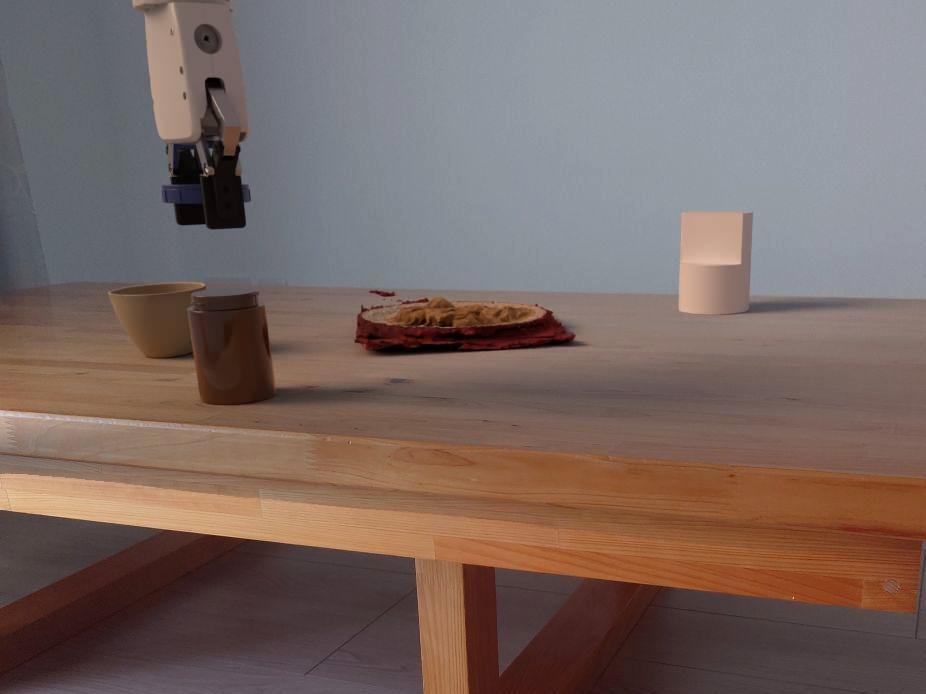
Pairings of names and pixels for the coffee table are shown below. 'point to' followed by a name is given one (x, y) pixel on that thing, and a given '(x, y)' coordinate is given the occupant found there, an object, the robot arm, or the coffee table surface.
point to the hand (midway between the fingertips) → (210, 224)
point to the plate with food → (457, 324)
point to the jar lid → (191, 193)
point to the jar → (231, 346)
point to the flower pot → (157, 316)
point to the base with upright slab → (715, 262)
